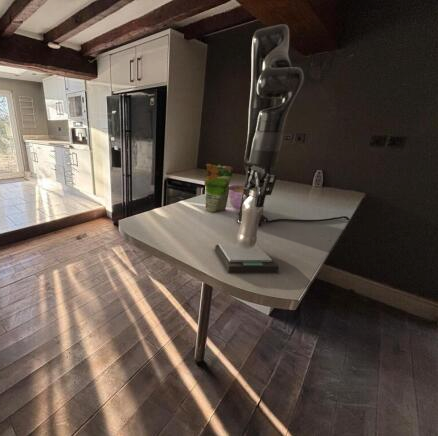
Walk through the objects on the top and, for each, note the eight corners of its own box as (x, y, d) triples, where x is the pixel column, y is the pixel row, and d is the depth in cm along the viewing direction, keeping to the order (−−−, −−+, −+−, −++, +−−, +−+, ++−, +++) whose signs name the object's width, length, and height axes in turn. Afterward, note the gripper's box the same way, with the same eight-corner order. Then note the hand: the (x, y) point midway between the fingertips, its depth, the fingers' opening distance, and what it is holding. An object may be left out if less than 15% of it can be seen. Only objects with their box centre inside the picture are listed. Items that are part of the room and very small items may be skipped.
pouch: (228, 213, 123) (236, 165, 114) (207, 213, 122) (213, 165, 112) (219, 206, 133) (226, 162, 124) (199, 206, 132) (205, 162, 122)
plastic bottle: (254, 243, 81) (266, 188, 74) (255, 252, 75) (269, 193, 68) (234, 240, 83) (244, 186, 76) (234, 249, 77) (245, 191, 70)
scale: (256, 250, 87) (258, 242, 86) (277, 272, 74) (279, 264, 73) (214, 250, 86) (216, 242, 85) (228, 272, 73) (229, 264, 72)
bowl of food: (267, 217, 119) (273, 195, 114) (227, 214, 121) (231, 193, 117) (257, 205, 137) (261, 186, 132) (222, 202, 140) (225, 183, 135)
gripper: (293, 151, 60) (278, 211, 67) (265, 146, 74) (255, 197, 80) (265, 150, 60) (252, 211, 67) (242, 145, 73) (233, 196, 80)
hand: (254, 203), depth 73 cm, fingers closed on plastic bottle, 6 cm apart
